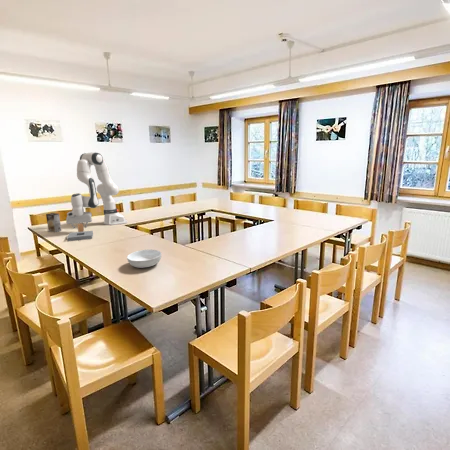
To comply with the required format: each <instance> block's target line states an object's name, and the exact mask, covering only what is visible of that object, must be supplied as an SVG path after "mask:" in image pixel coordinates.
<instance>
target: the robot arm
mask: <svg viewBox="0 0 450 450" xmlns="http://www.w3.org/2000/svg"><path fill="white" fill-rule="evenodd" d="M92 166H94V169H95V172H96V176H97V179H98V180H99V181H100V182H101V183H100V184H98V185H97V186H96V181H95V180H94V178H93V177H92V174H91V172H92V171H91V167H92ZM76 177H77V179H78V181H80V182H81V183H83V184H85V185H86V186H87V188H88V191H89V196H85V195H82V194H81V193H74V194H72V195H71V199H70V203H71V206H72V207H71V209H72V210H71V211H68V212H67V213H66V217H65V218H66V219H65V221H66V224H67V225H71V227H72V229H74V230H75V229H76V226H75V225H74V224H78V223H83V224H85V225H84V229H85V228H88V224H89V223H92V221H93V218H92V216H93V215H92V212H90V211H85V210H84V208H91V209H95V208H97V207H98V205H99V204H100V203H99V198H98V195H99V196H100V198H101V200H102V203H103V216H104V217H103V218H104V219H103V220H104V221H103V225H109V226H114V225H115V226H116V225H121V224H127V223H128V220H127V219H126V218H125V215H124V214H122V213H120V212H119V211H120V210H119V209H118V208H117V206H116V200H115V199H114V198H113V196H117V195H118V194H119V192H120V188H119V186H118V185H117V184H116V183H115V182H114V180H113V178H112V177H111V175H110V171H109V167H108V165H107V162H106V160H105V159H104V157H103V156H102V154H101V153H99V152H87V153H85V152H84V153H82V154H80V156H79V160H78V161H77V165H76ZM97 193H98V195H97Z"/></svg>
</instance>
